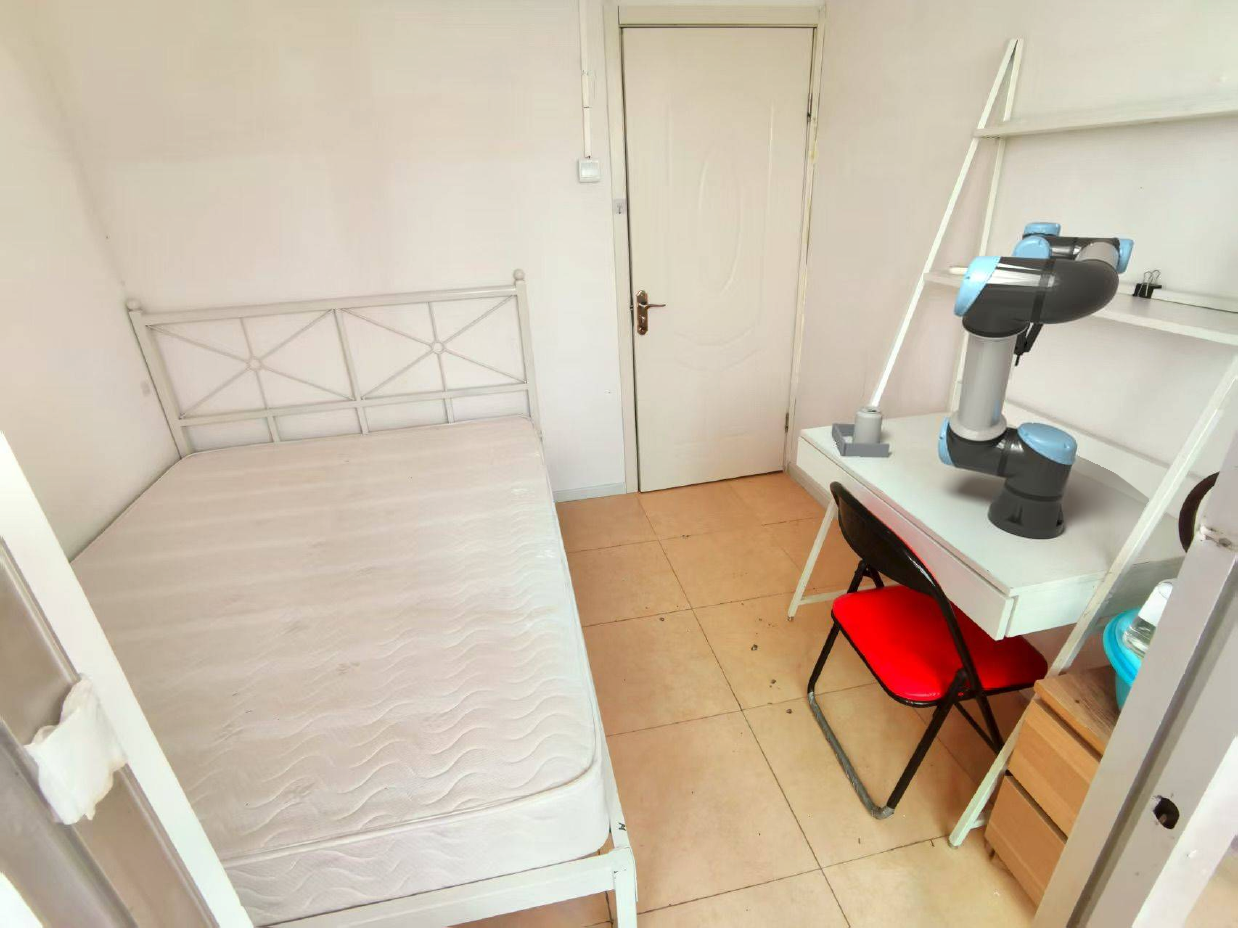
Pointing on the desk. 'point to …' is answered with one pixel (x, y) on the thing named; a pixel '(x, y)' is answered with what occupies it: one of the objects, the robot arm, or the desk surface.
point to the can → (867, 424)
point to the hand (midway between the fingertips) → (1006, 377)
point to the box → (856, 448)
